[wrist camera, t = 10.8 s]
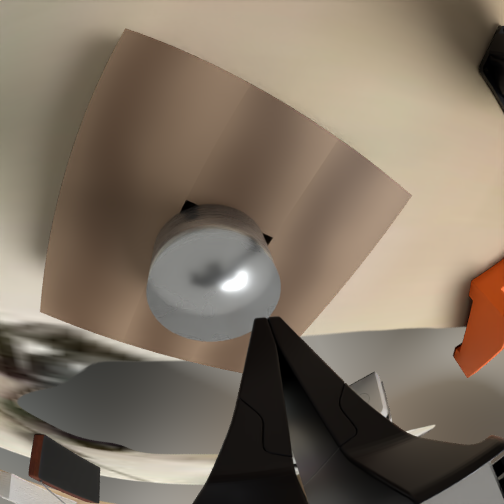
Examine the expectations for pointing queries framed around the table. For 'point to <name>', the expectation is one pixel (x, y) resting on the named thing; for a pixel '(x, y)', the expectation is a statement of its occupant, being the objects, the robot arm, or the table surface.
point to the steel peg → (211, 274)
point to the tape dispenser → (483, 321)
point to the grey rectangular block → (26, 492)
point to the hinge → (369, 396)
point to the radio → (63, 470)
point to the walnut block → (202, 196)
